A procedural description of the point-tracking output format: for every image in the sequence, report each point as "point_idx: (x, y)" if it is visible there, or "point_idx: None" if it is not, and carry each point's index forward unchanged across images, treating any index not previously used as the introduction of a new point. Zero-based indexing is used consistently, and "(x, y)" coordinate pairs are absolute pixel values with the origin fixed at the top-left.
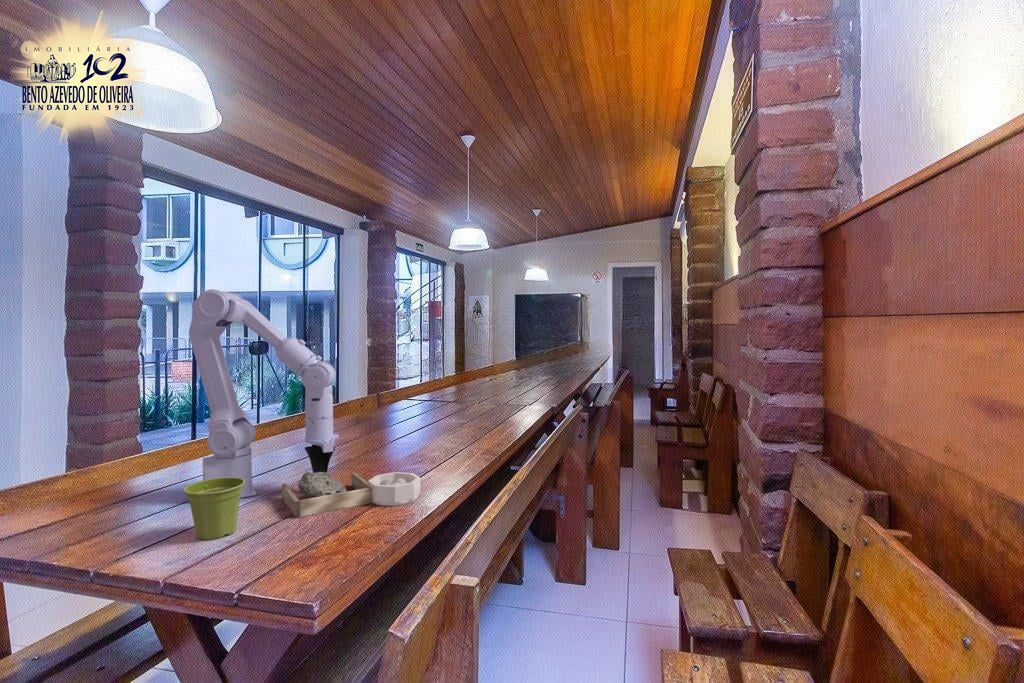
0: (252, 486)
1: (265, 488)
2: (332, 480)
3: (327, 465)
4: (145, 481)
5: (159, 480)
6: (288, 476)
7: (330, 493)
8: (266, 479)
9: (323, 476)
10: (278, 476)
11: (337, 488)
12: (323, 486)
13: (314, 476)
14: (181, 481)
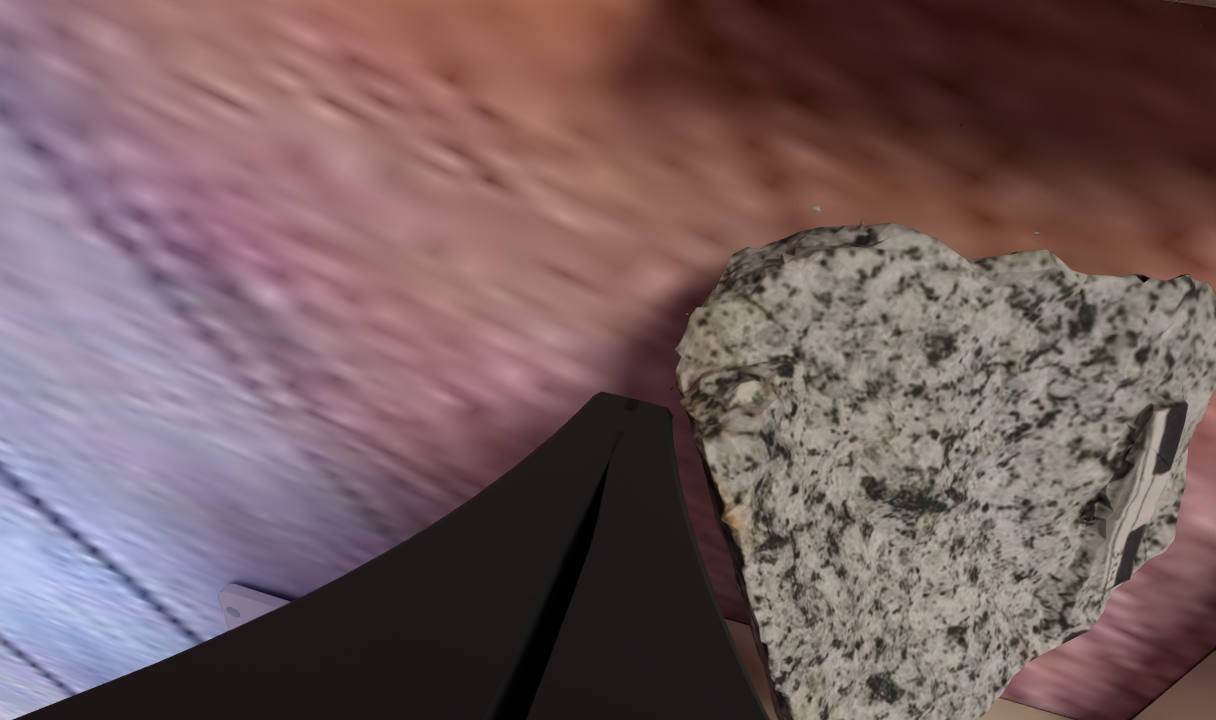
0: (272, 608)
1: (303, 550)
2: (812, 369)
3: (698, 557)
4: (12, 712)
5: (5, 691)
6: (38, 327)
7: (1135, 531)
8: (87, 458)
9: (804, 547)
10: (25, 376)
11: (1060, 395)
12: (970, 567)
13: (836, 700)
14: (36, 668)
